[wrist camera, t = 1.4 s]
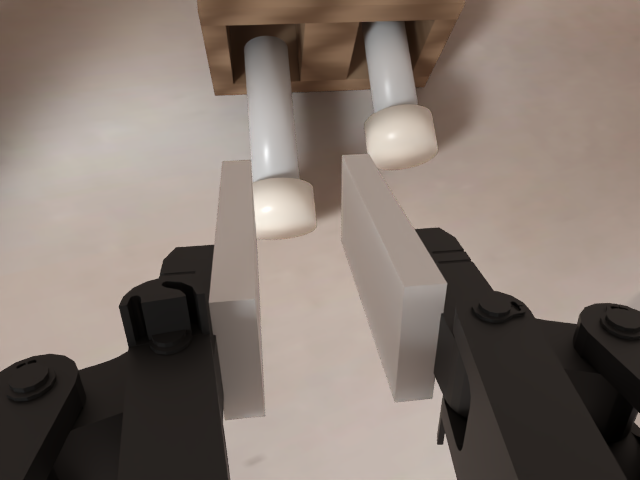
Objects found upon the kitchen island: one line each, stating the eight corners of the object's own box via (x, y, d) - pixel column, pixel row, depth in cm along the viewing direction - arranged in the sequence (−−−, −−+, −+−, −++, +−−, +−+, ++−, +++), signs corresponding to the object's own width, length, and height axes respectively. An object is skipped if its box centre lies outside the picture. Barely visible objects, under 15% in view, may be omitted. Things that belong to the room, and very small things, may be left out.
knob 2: (427, 168, 37) (447, 138, 33) (363, 171, 37) (375, 141, 33) (401, 13, 41) (417, -32, 37) (343, 15, 40) (351, -31, 36)
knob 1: (314, 237, 35) (319, 214, 31) (245, 241, 35) (240, 220, 30) (297, 68, 39) (300, 26, 34) (234, 70, 38) (229, 28, 34)
